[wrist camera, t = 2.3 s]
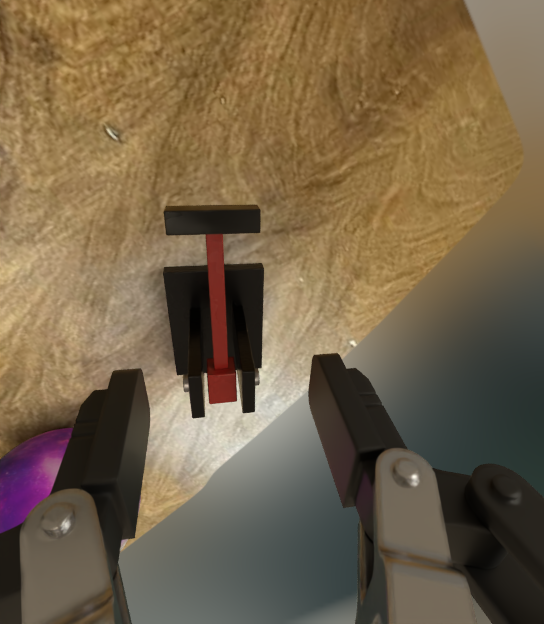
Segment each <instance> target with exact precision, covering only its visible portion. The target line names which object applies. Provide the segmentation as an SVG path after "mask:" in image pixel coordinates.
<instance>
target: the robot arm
mask: <svg viewBox="0 0 544 624" xmlns="http://www.w3.org/2000/svg"><path fill="white" fill-rule="evenodd" d="M308 393H309V395H308V396H309V405H310V409H311V413H312V415H313V419H314V421H315V425H316V427H317V430H318V434H319V437H320V440H321V442H322V446H323V449H324V452H325V455H326V458H327V461H328V464H329V467H330V469H331V473H332V476H333V479H334V482H335V485H336V488H337V491H338V493H339V497H340V500H341V503H342V506H343V508H346V507H353V506H356V509H357V511H358V514H359V517H360V520H359V523H358V570H357V578H358V579H357V580H358V581H357V613H356V620H355V624H477V621H476V616H475V611H474V606H473V602H472V597H471V595H472V596H473V598H474V599H475V600H476V602H477V603H478V605H479V606H480V607H481V609H482V610H483V611H484V613H485V614H486V616H487V617H488V618H489V620H490V621H491V623H492V624H544V498H543V496H542V495H540V494H539V493H538V492H537V491H536V490H535V489H534V488H533V487H532V486H531V485H530V484H529V483H528V482H527V481H526V480H525V479H523V478H522V477H521V476H520V475H518V474H517V473H515V472H514V471H512V470H510V469H507V468H506V467H503V466H500V465H496V464H483V465H480V466H478V467H477V468H475V470H474V471H473V473H472V475H471V476H469V475H464V474H459V473H453V472H447V471H442V470H437V469H435V468H432V467H431V466H430V465H429V463H428V462H427V461H426V460H425V459H424V458H422V457H421V456H420V455H418V454H416V453H414V452H412V451H410V450H408V449H407V447H406V446H405V444H404V442H403V440H402V439H401V437H400V435H399V433H398V431H397V430H396V428H395V426H394V424H393V422H392V421H391V419H390V417H389V415H388V413H387V412H386V410H385V408H384V406H382V403H381V401H380V399H379V397H378V395H376V392H375V390H374V388H373V386H372V385H371V383H370V381H369V379H368V378H367V377H366V376H364V375H363V374H362V373H361V372H360V371H359V370H357V369H356V368H351V369H346V367H345V365H344V363H343V361H342V359H341V357H340V355H339V354H338V353H332V354H320V355H314V356H313V358H312V366H311V374H310V383H309V392H308ZM149 428H150V408H149V402H148V397H147V392H146V387H145V382H144V377H143V372H142V370H141V369H140V368H139V369H127V370H115V371H113V373H112V375H111V379H110V382H109V386H108V389H105V390H94V391H93V392H92V393H91V395H90V396H89V397H88V398H87V399H86V400H85V401H84V403H83V404H82V405H81V407H80V410H79V413H78V416H77V419H76V424H74V427H73V430H72V433H71V438H70V439H69V442H68V444H67V447H66V450H65V453H64V456H63V459H62V462H61V464H60V467H59V470H58V473H57V476H56V479H55V482H54V485H53V487H52V490H51V492H50V494H49V496H48V497H46V498H44V499H43V500H42V501H40V502H39V503H38V504H37V505H36V506H35V507H34V508H33V509H32V510H31V511H30V512H29V514H28V515H27V517H26V518H25V520H24V522H22V523H21V524H19V525H17V526H16V527H13V528H11V529H9V530H7V531H5V532H2V533H0V624H132V623H131V618H130V614H129V609H128V605H127V600H126V596H125V591H124V587H123V582H122V578H121V573H120V569H119V565H118V560H119V554H120V548H121V541H122V540H125V539H132V538H135V532H136V524H137V517H138V510H139V502H140V495H141V487H142V480H143V473H144V465H145V458H146V450H147V443H148V436H149Z"/></svg>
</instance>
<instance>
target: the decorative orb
mask: <svg viewBox="0 0 544 624" xmlns="http://www.w3.org/2000/svg"><path fill="white" fill-rule="evenodd" d="M72 430H73V428H64V429H57V430H52V431H48V432H45V433H42V434H40V435H37V436H35V437H32V438H30V439H28V440H26V441H25V442H23V443H21V444H19V445H18V446H16V447H15V448H13V449H12V450H11V451H10V452H8V453H7V454H6V455H5V456H3V457H2V458H1V459H0V533H2V532H5V531H7V530H9V529H11V528H13V527H16V526H17V525H19V524H21V523H22V522H24V520H25V518H26V517H27V515H28V514H29V512H30V511H31V510H32V509H33V508H34V507H35V506H36V505H37V504H38V503H39V502H40V501H42V500H43V499H44V498H46V497H48V496H49V494H50V492H51V490H52V487H53V485H54V482H55V479H56V476H57V473H58V470H59V467H60V464H61V462H62V459H63V456H64V453H65V450H66V447H67V444H68V442H69V439H70V438H71V433H72ZM140 498H141V495H140ZM139 507H140V502H139ZM138 512H139V510H138ZM127 540H128V539H125V540H122V541H121V548H120V551H121V550H122V548H123V547H124V545H125V544H126V542H127Z"/></svg>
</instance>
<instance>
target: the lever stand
mask: <svg viewBox="0 0 544 624" xmlns="http://www.w3.org/2000/svg"><path fill="white" fill-rule="evenodd" d="M163 276H164V283H165V291H166V298H167V306H168V313H169V320H170V328H171V335H172V342H173V350H174V357H175V365H176V372H177V375H183V387H184V392H189V394H190V403H191V411H192V418H201V417H205V393H204V373H207V359H208V358H213V343H212V327H211V311H210V296H209V280H208V266H183V267H164V271H163ZM224 278H225V301H226V325H227V349H228V357H234V362H235V370H237V374H238V382H239V389H240V397H241V405H242V412H243V413H250V412H255V386H256V385H259V371H258V368H261V367H262V327H263V287H264V268H263V265H262V263H258V264H233V265H224Z"/></svg>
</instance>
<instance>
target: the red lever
mask: <svg viewBox="0 0 544 624" xmlns="http://www.w3.org/2000/svg"><path fill="white" fill-rule="evenodd" d="M164 219H165V228H166V235H200V234H206V248H207V264H208V280H209V296H210V311H211V327H212V343H213V358H208V359H207V379H208V393H209V403H210V404H215V403H225V402H235V401H237V388H236V370H235V362H234V357H228V349H227V325H226V301H225V278H224V254H223V234H237V233H260V209H259V207H258V206H257V205H202V206H166V207H165V210H164Z"/></svg>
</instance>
